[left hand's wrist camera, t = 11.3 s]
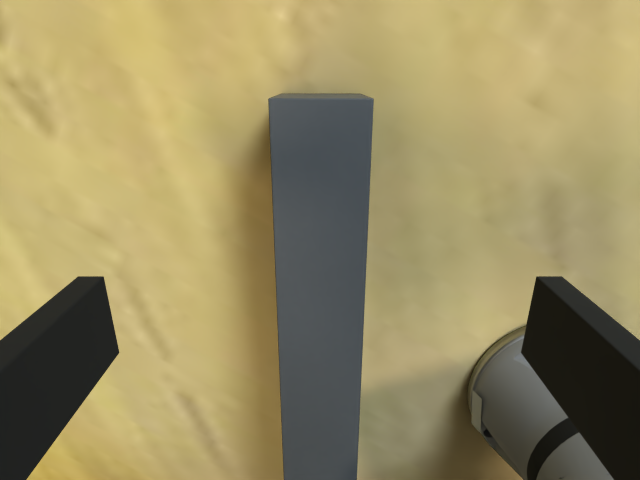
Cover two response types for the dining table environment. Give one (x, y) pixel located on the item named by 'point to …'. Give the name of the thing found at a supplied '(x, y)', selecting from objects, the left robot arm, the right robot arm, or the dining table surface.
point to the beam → (320, 275)
